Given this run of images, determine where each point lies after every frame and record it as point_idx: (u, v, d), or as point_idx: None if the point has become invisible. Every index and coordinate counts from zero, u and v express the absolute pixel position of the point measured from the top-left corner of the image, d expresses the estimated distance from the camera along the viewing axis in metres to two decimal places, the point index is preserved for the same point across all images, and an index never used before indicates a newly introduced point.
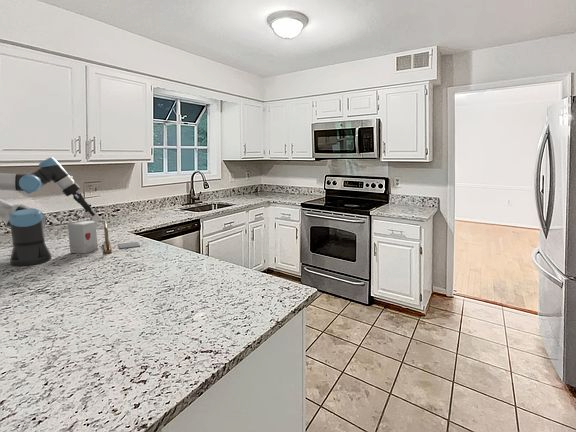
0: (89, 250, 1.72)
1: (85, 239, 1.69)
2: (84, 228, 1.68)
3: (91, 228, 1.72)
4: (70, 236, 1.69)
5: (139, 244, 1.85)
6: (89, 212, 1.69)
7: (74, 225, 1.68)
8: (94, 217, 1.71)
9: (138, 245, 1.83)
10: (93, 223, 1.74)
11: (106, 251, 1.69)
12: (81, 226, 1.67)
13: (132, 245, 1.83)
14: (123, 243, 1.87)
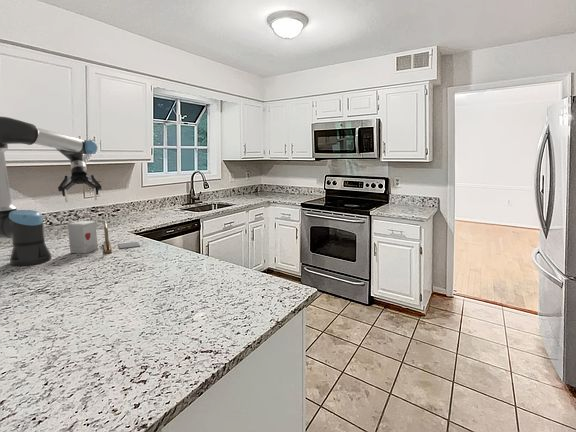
0: (89, 250, 1.72)
1: (85, 239, 1.69)
2: (84, 228, 1.68)
3: (91, 228, 1.72)
4: (70, 236, 1.69)
5: (139, 244, 1.85)
6: (98, 189, 1.87)
7: (74, 225, 1.67)
8: (96, 194, 1.85)
9: (138, 245, 1.83)
10: (93, 223, 1.74)
11: (106, 251, 1.69)
12: (81, 226, 1.67)
13: (132, 245, 1.83)
14: (123, 243, 1.87)
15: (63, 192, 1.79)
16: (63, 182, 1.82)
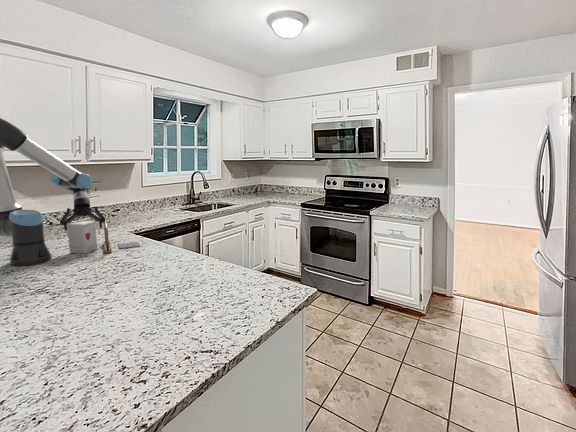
0: (89, 250, 1.71)
1: (85, 239, 1.69)
2: (84, 228, 1.68)
3: (91, 228, 1.72)
4: (70, 236, 1.68)
5: (139, 244, 1.85)
6: (101, 222, 1.80)
7: (74, 225, 1.67)
8: (99, 228, 1.77)
9: (138, 245, 1.83)
10: (92, 223, 1.73)
11: (106, 251, 1.69)
12: (81, 226, 1.67)
13: (132, 245, 1.83)
14: (123, 243, 1.87)
15: (65, 226, 1.71)
16: (65, 215, 1.74)
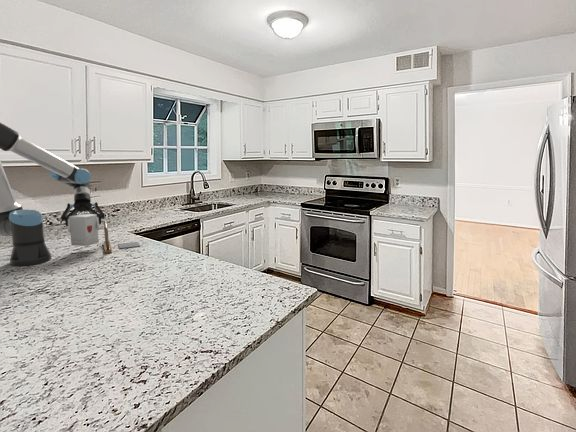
0: (91, 243, 1.71)
1: (87, 232, 1.68)
2: (86, 220, 1.67)
3: (93, 221, 1.72)
4: (71, 229, 1.68)
5: (139, 244, 1.85)
6: (101, 218, 1.77)
7: (76, 218, 1.67)
8: None
9: (138, 245, 1.83)
10: (94, 216, 1.73)
11: (106, 251, 1.69)
12: (83, 219, 1.66)
13: (132, 245, 1.83)
14: (123, 243, 1.87)
15: (66, 222, 1.69)
16: (66, 211, 1.72)
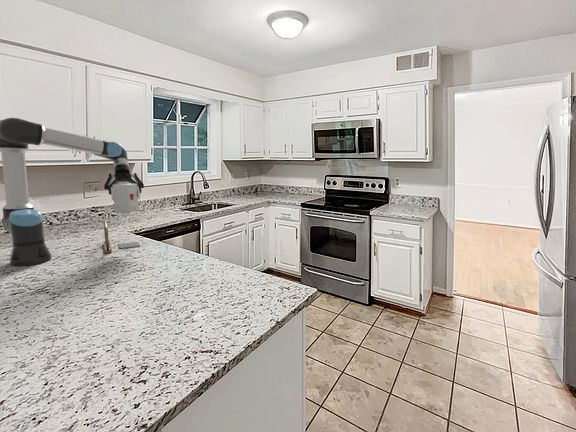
0: (133, 210, 1.78)
1: (130, 200, 1.76)
2: (129, 188, 1.75)
3: (134, 190, 1.79)
4: (115, 197, 1.75)
5: (139, 244, 1.85)
6: None
7: (119, 186, 1.74)
8: (139, 193, 1.82)
9: (138, 245, 1.83)
10: (135, 185, 1.80)
11: (106, 251, 1.69)
12: (126, 186, 1.74)
13: (132, 245, 1.83)
14: (123, 243, 1.87)
15: (109, 190, 1.76)
16: (108, 180, 1.79)
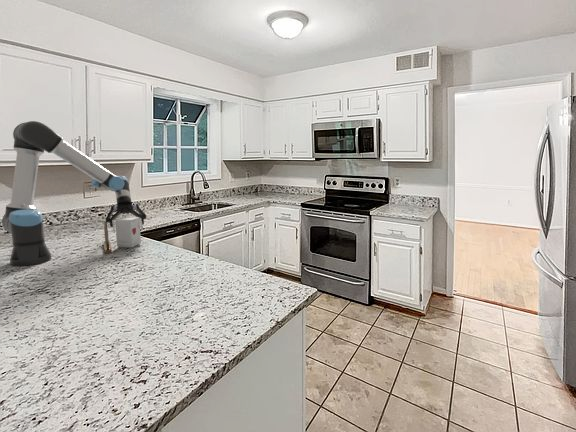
0: (135, 244, 1.81)
1: (132, 234, 1.78)
2: (131, 223, 1.77)
3: (136, 224, 1.82)
4: (117, 231, 1.78)
5: (139, 244, 1.85)
6: (143, 219, 1.87)
7: (122, 221, 1.77)
8: (142, 224, 1.85)
9: (138, 245, 1.83)
10: (137, 219, 1.83)
11: (106, 251, 1.69)
12: (128, 222, 1.76)
13: None
14: None
15: (111, 223, 1.79)
16: (110, 212, 1.82)
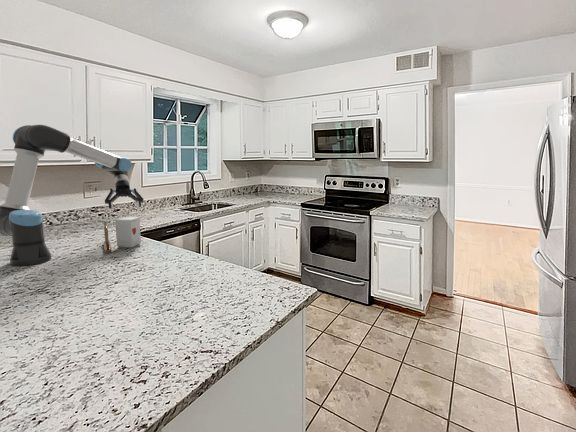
0: (135, 244, 1.81)
1: (132, 234, 1.78)
2: (131, 223, 1.77)
3: (136, 224, 1.82)
4: (117, 231, 1.78)
5: (139, 244, 1.85)
6: (140, 202, 1.98)
7: (122, 220, 1.77)
8: (139, 207, 1.95)
9: (138, 245, 1.83)
10: (138, 219, 1.83)
11: (106, 251, 1.69)
12: (128, 221, 1.77)
13: None
14: None
15: (109, 204, 1.89)
16: (109, 195, 1.92)
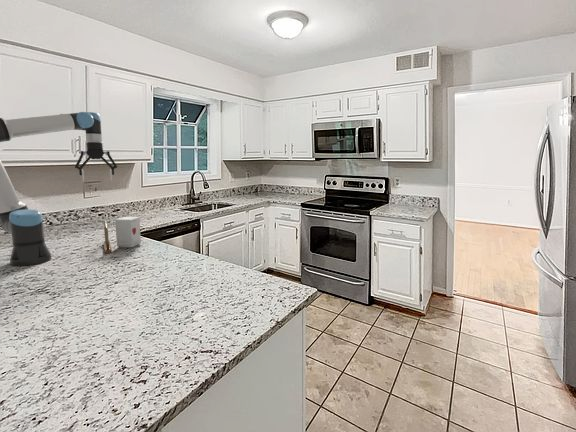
0: (135, 244, 1.81)
1: (132, 234, 1.78)
2: (131, 223, 1.77)
3: (136, 224, 1.82)
4: (117, 231, 1.78)
5: (139, 244, 1.85)
6: None
7: (122, 220, 1.77)
8: None
9: (138, 245, 1.83)
10: (138, 219, 1.83)
11: (106, 251, 1.69)
12: (129, 221, 1.77)
13: None
14: None
15: (80, 172, 1.82)
16: (79, 160, 1.81)
